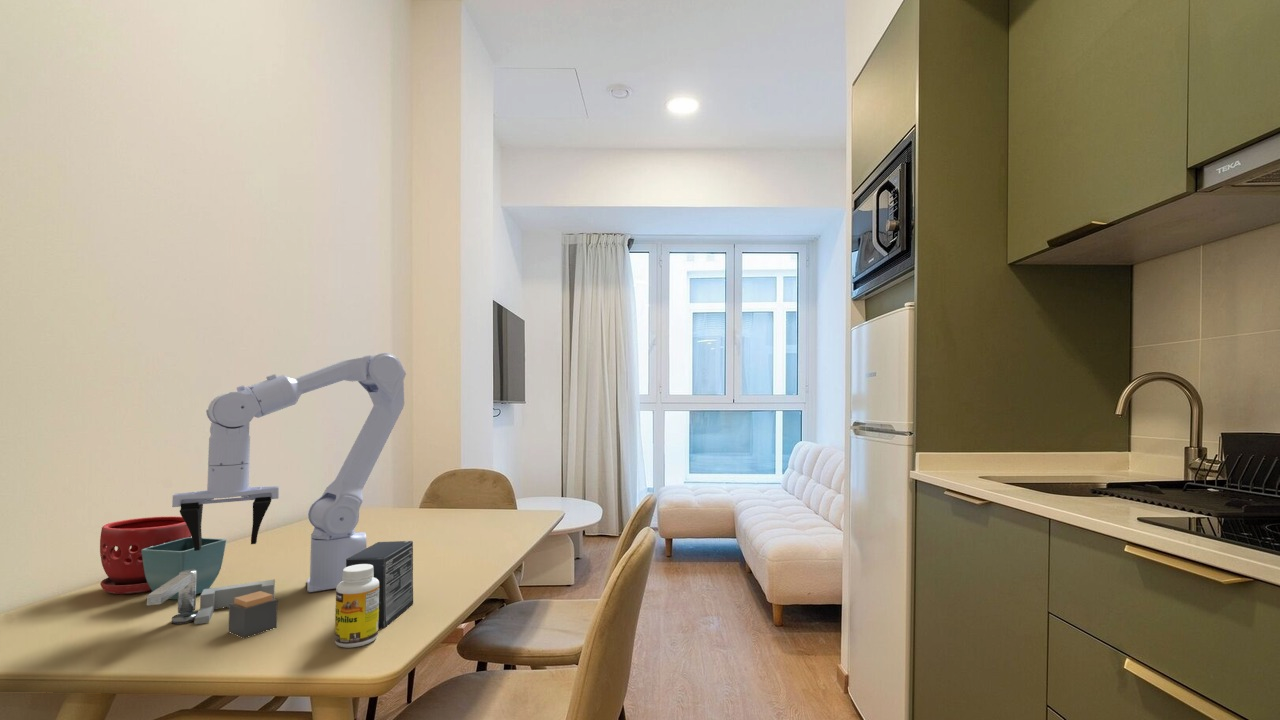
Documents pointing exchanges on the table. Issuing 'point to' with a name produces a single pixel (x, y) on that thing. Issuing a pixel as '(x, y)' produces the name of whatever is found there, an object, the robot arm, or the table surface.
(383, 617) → the small box
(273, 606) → the orange and grey block
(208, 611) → the socket
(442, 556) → the table surface
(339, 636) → the supplement bottle
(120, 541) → the plant pot
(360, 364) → the robot arm
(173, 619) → the door handle base
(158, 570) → the flower pot
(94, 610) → the table surface
